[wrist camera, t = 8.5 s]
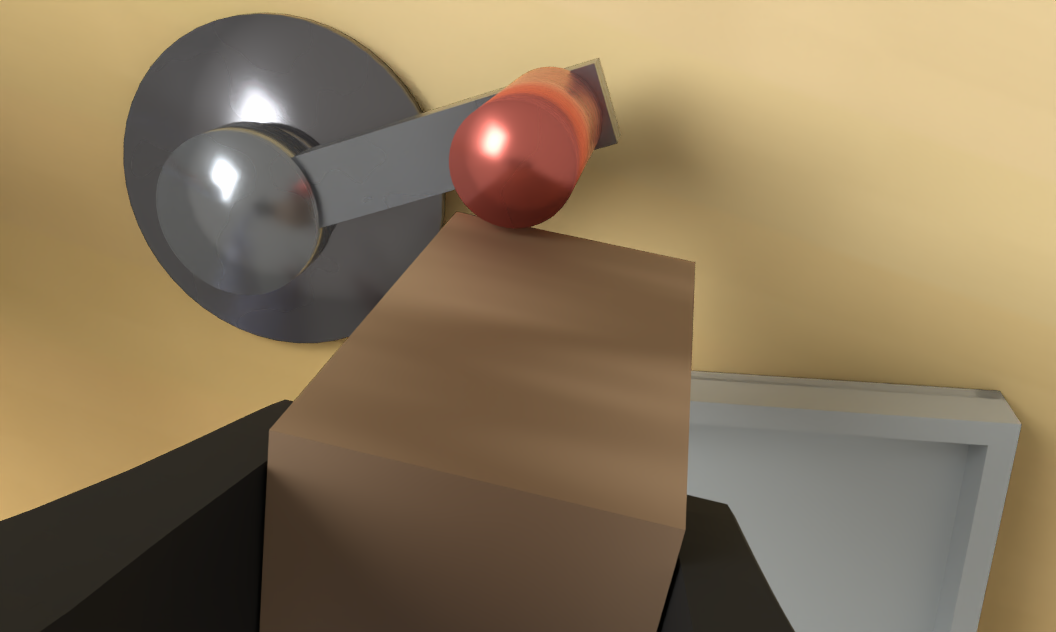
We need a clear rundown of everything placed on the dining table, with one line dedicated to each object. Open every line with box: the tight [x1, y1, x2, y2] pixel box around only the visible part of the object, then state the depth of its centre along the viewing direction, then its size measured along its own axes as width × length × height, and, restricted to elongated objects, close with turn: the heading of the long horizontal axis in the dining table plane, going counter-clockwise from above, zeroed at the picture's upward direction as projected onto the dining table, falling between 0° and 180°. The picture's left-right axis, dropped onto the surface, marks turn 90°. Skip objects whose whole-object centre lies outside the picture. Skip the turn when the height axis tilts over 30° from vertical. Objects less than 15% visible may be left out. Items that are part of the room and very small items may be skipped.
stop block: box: [259, 212, 695, 632], centre depth 11 cm, size 4×4×6 cm
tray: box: [687, 371, 1022, 632], centre depth 20 cm, size 9×9×1 cm
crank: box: [156, 58, 621, 295], centre depth 16 cm, size 9×3×4 cm, turn 107°
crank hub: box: [124, 13, 445, 343], centre depth 19 cm, size 7×7×1 cm
